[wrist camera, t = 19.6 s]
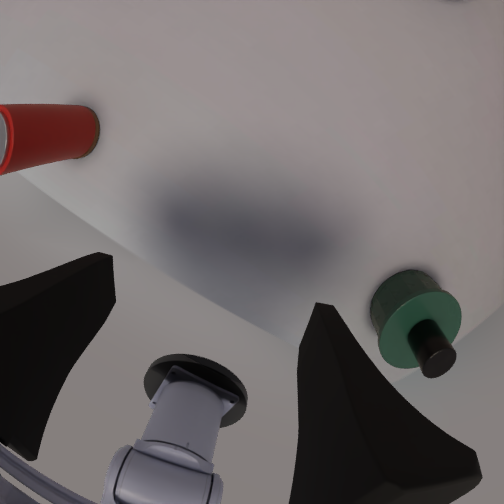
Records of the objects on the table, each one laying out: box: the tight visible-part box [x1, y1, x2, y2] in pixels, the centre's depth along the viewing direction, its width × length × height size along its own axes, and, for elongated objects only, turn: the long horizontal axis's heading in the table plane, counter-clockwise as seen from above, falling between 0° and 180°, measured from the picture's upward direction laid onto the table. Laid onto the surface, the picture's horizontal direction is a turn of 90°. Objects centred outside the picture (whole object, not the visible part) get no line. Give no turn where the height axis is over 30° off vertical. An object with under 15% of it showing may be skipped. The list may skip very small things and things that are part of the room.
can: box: [0, 104, 95, 175], centre depth 14 cm, size 4×4×8 cm
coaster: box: [72, 107, 99, 159], centre depth 18 cm, size 4×4×1 cm
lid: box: [378, 288, 462, 378], centre depth 16 cm, size 6×6×4 cm
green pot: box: [370, 270, 441, 335], centre depth 19 cm, size 6×6×4 cm
